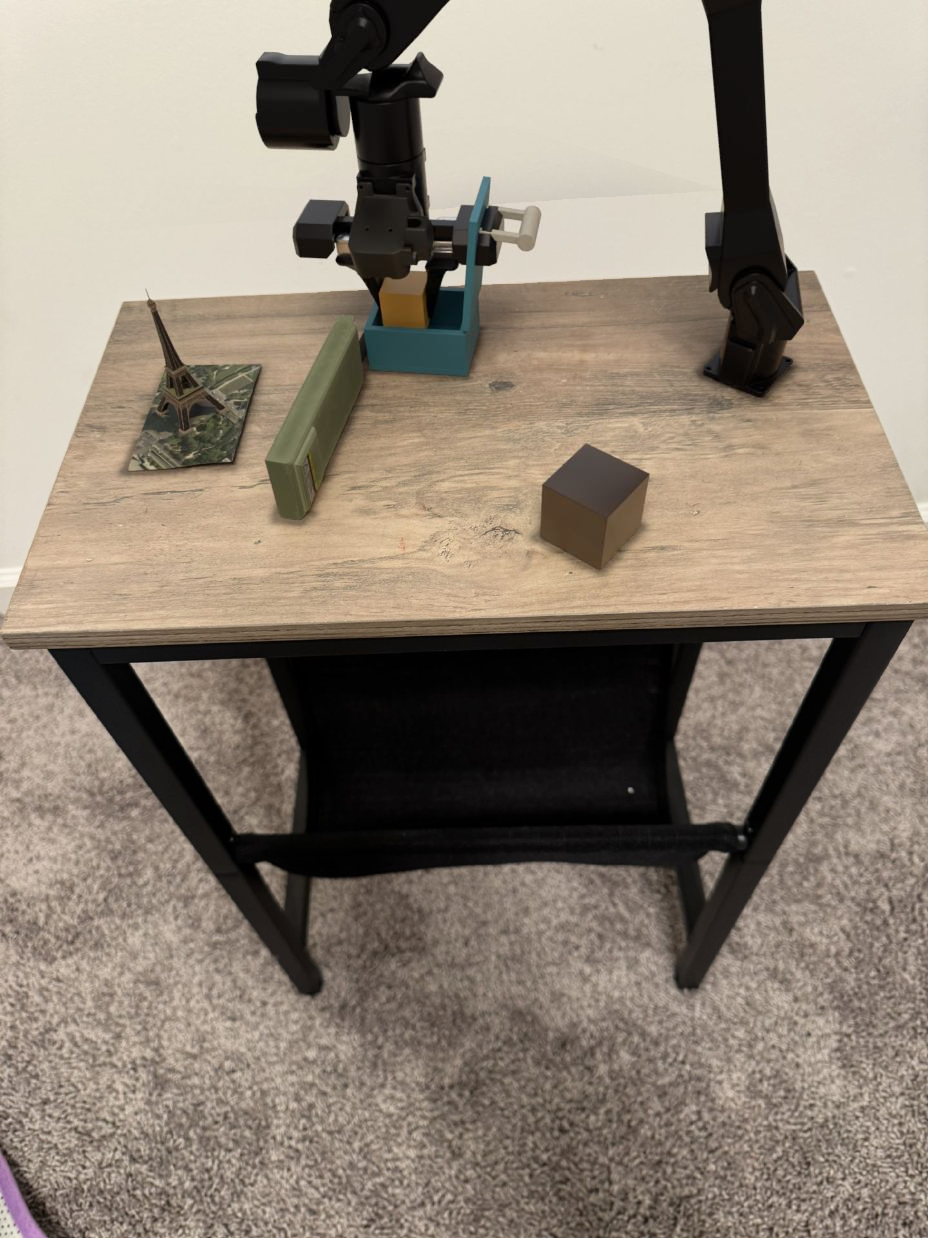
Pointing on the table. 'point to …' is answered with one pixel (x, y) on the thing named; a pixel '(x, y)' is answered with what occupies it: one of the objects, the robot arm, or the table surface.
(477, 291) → the teal lid with handle
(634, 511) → the stand
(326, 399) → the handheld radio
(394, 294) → the block
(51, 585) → the table surface
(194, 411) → the eiffel tower figurine
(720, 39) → the robot arm
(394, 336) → the teal open box
